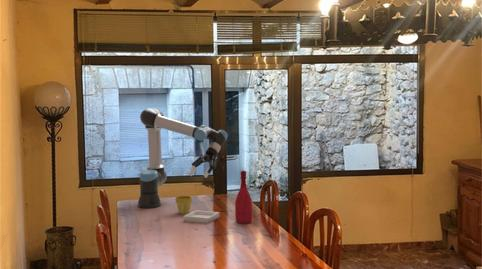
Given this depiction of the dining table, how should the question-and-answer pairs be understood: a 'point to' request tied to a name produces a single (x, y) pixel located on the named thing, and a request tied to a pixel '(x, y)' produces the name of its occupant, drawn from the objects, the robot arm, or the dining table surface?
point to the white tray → (201, 216)
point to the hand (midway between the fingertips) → (197, 175)
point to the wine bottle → (243, 202)
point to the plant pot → (183, 203)
